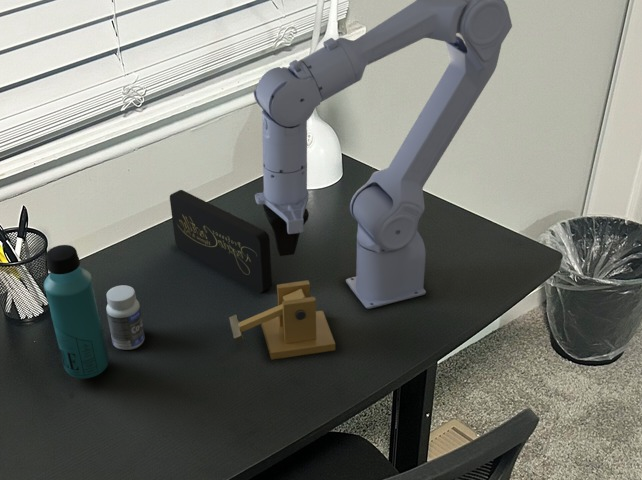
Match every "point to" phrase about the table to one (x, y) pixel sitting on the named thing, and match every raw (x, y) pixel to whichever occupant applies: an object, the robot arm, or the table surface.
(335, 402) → the table surface
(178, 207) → the nameplate
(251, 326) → the handle
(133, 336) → the pill bottle
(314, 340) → the wooden lever stand
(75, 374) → the beverage bottle
